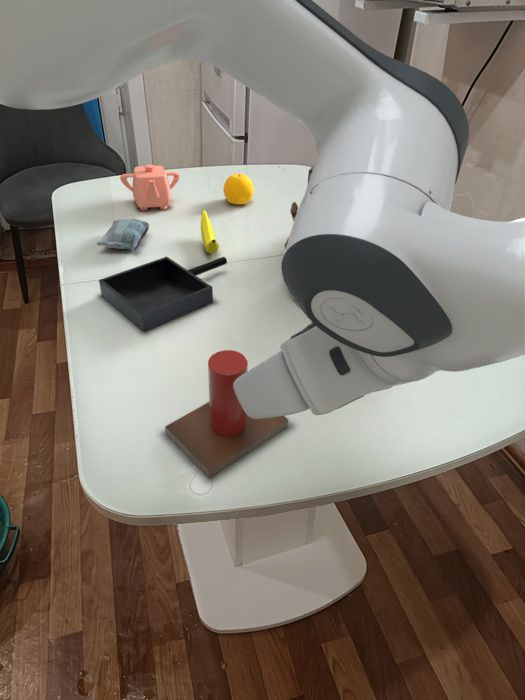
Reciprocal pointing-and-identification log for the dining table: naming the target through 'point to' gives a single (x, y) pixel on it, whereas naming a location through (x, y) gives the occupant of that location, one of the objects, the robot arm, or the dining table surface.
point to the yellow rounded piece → (238, 189)
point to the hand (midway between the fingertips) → (287, 366)
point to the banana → (208, 234)
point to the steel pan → (158, 291)
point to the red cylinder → (226, 392)
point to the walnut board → (219, 439)
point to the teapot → (151, 186)
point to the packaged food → (125, 234)
